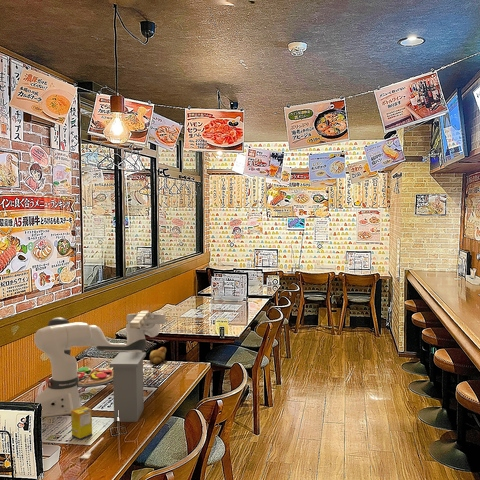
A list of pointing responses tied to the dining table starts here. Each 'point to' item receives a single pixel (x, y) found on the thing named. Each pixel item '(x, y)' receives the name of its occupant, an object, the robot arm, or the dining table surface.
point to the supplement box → (81, 422)
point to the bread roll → (158, 355)
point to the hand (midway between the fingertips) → (143, 314)
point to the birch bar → (139, 319)
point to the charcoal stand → (128, 385)
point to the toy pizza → (94, 376)
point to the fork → (90, 450)
